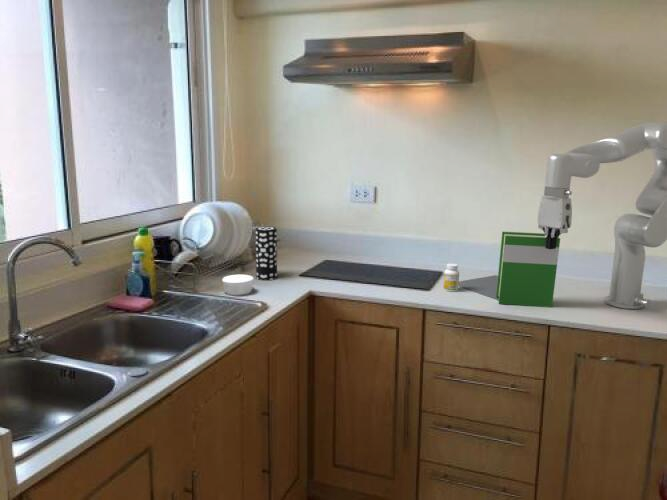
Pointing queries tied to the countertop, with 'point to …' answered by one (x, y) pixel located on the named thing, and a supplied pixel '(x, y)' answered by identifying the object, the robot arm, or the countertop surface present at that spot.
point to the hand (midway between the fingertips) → (550, 248)
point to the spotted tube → (266, 253)
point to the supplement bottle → (451, 278)
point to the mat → (482, 285)
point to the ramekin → (238, 284)
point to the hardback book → (526, 270)
